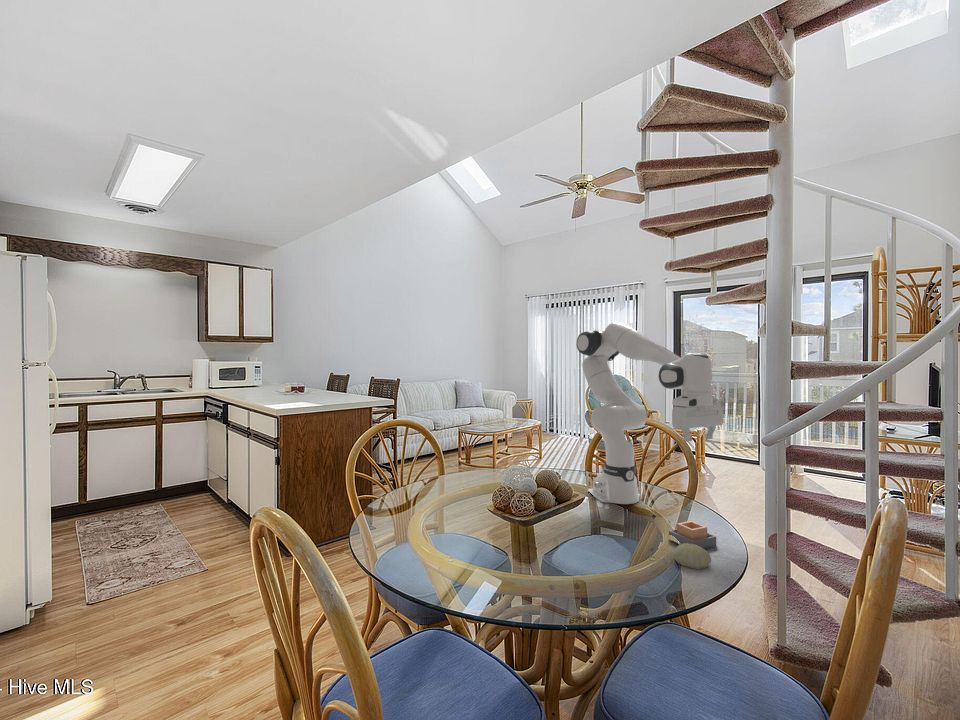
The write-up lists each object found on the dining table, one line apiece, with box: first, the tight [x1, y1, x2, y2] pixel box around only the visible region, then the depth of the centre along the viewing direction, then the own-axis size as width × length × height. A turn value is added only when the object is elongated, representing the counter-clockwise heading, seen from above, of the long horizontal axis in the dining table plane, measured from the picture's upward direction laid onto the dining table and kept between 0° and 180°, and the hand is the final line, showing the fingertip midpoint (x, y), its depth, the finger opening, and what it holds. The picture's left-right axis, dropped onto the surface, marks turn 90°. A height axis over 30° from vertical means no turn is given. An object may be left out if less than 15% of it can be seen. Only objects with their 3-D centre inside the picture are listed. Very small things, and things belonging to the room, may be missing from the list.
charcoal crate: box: [668, 528, 717, 550], centre depth 137 cm, size 9×9×3 cm
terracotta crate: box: [676, 520, 708, 541], centre depth 136 cm, size 6×6×5 cm
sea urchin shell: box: [673, 543, 712, 570], centre depth 123 cm, size 9×8×8 cm
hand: (698, 440), depth 151 cm, fingers open, 8 cm apart
